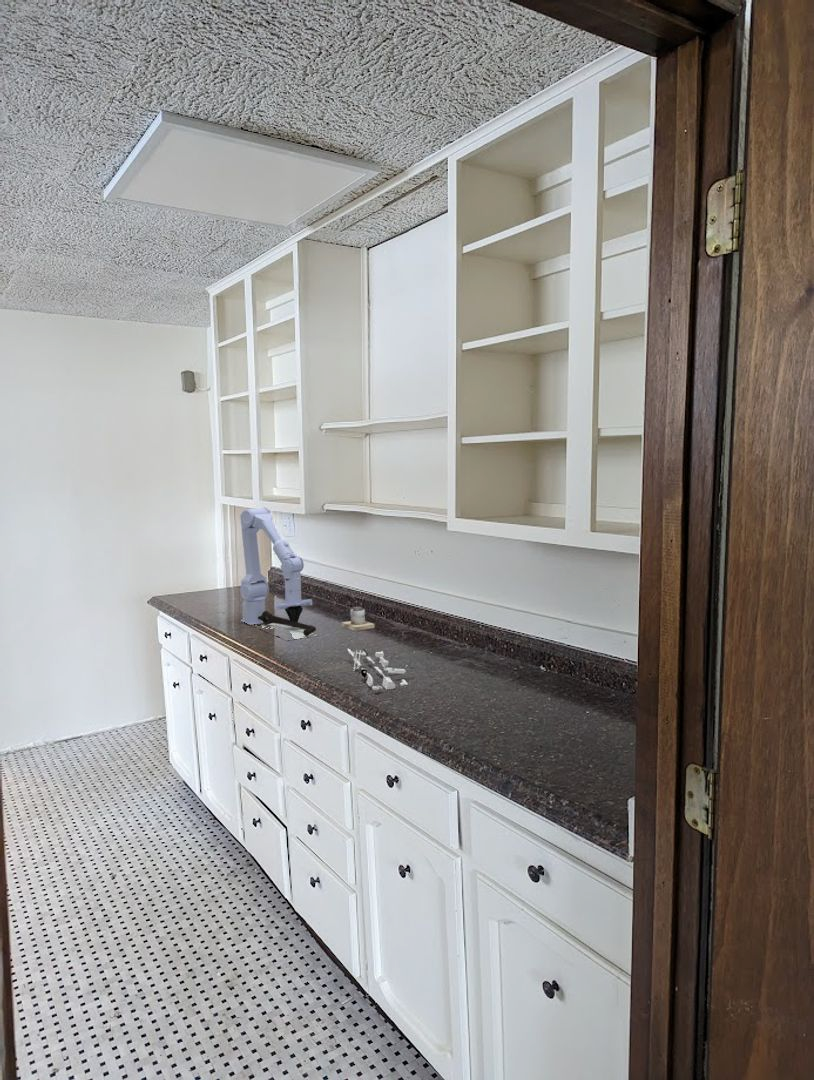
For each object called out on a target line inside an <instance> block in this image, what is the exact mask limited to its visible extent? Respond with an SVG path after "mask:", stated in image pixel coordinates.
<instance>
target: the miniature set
mask: <svg viewBox="0 0 814 1080" xmlns="http://www.w3.org/2000/svg"><path fill="white" fill-rule="evenodd" d="M347 651H348V655H351V656H352V658H353V661H354V663H353V669H354V670H353V671H355V670H357V669H358V670H359V668H360V667H361V666H362V664H361V662H360V660H361V656H366V659H367V660H368V661H369V662H371V663H372V664H376V663H375V661H374V660H373V659H372V657H371V656H368V655H369V654H368V652H367V651H366V650H365V649H362V651H361V649H360V650H359V652H358V649H356V650H355V651H352V649H349V648H347ZM357 655H359V656H358V657H357ZM374 656H375V657H376V658H379V664H380V665H381V666H382V667H383V670H384V671H386V672H387V674H406V673H407V671H406V670H405V669H404V668H393V667H389V665H390V664H389V663H390V662H389V660H386V659H385V658H384V657H385V654H384V652H383V650H381V651H376V652H375V654H374ZM356 664H357V667H356ZM373 668H374V669H375V671H377V672H378V673H379V674H380V675H382V676H383V679H382V686H380V685H373V684H374V679H373V676H372V675H371V674H370V673H369V672H368V670H367V669H366V668H361V671H360V674H359V675H361V676H362V678H363V679H365V678H366V677H367V680H366V684H367V685H368V686H369V687H371V689H372V690H373V691H378V690H383V688H385V690H387V689H388V690H394V689H395V688H396V683H395V682H393V680H392V678H391V677H389V676H385V674H384V673H383V670H381V669H380V668H379V667H378V666H374V667H373ZM408 685H409V683H408V682H407V681H406V680H405V679H403V678H402V679H401V682H399V686H401V687H403V686H408Z"/></svg>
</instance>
